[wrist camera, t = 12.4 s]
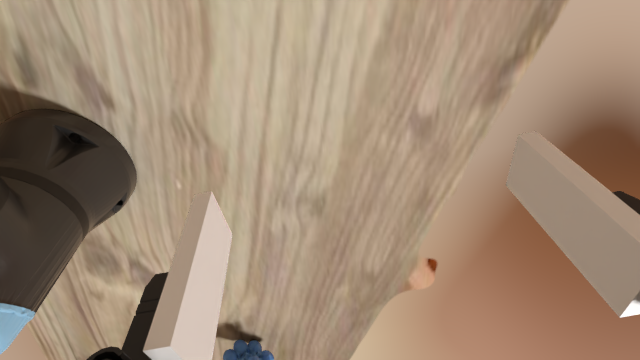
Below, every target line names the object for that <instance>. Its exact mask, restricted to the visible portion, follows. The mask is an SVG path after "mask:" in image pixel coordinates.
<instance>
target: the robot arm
mask: <svg viewBox="0 0 640 360" xmlns="http://www.w3.org/2000/svg"><path fill="white" fill-rule="evenodd" d="M136 179H137V178H136V170H135V167H134V164H133V161H132V159H131V158H130V156H129V154H128V153H127V151H126V150H125V149H124V147H123V146H122V145H121V144H120V143H119V142H118V141H117V140H116V139H115V138H114V137H113V136H112V135H110V134H109V133H108V132H106V131H105V130H104V129H102V128H101V127H99V126H97V125H96V124H94V123H92V122H90V121H88V120H86V119H84V118H81V117H79V116H76V115H73V114H70V113H67V112H62V111H57V110H50V109H34V110H28V111H24V112H21V113H18V114H16V115H14V116H12V117H11V118H9V119H8V120H6V121H5V122H3V123H2V124H0V354H1V353H2V352H3V351H5V350H6V349H7V348H8V347H9V346H10V344H11V343H12V342H13V340H14V339H15V338H16V336H17V335H18V334H19V332H20V331H21V330H22V329H23V327H24V326H25V325H26V323H27V322H28V321H30V320H31V319H33V317H34V315H35V313H36V311H37V310H38V308H39V307H40V305H41V304H42V302H43V301H44V299H45V298H46V296H47V295H48V293H49V291H50V290H51V288H52V287H53V285H54V284H55V282H56V281H57V279H58V278H59V276H60V275H61V273H62V271H63V270H64V268H65V267H66V265H67V264H68V262H69V261H70V259H71V258H72V256H73V255H74V253H75V251H76V250H77V248H78V247H79V245H80V244H81V242H82V241H83V239H84V238H85V236H86V235H87V233H88V232H90V231H91V230H93V229H94V228H96V227H97V226H98V225H100V224H101V223H103V222H104V221H105V220H107V219H108V218H110V217H111V216H113V215H114V214H115V213H117V212H118V211H119V210H120V209H122V207H123V206H124V205H125V204H126V203H127V201H128V199H129V198H130V196H131V195H132V193H133V191H134V189H135V186H136ZM506 186H507V187H508V188H509V190H510V191H511V192H512V193H513V194H514V195H515V197H516V198H517V199H518V200H519V201H520V202H521V203H522V205H523V206H524V207H525V208H526V209H527V210H528V211H529V213H530V214H531V215H532V216H533V217H534V218H535V220H536V221H537V222H538V223H539V224H540V226H541V227H542V228H543V229H544V230H545V231H546V232H547V234H548V235H549V236H550V237H551V238H552V239H553V241H554V242H555V243H556V244H557V245H558V246H559V248H560V249H561V250H562V251H563V252H564V253H565V255H566V256H567V257H568V258H569V259H570V260H571V262H572V263H573V264H574V265H575V266H576V267H577V268H578V270H579V271H580V272H581V273H582V274H583V276H584V277H585V278H586V279H587V280H588V281H589V282H590V284H591V285H592V286H593V287H594V288H595V289H596V290H597V292H598V293H599V294H600V295H601V296H602V297H603V299H604V300H605V301H606V302H607V303H608V304H609V306H610V307H611V308H612V309H613V310H614V311H615V313H616V314H617V315H618V316H619V317H626V316H632V315H638V314H640V200H639V199H637V198H635V197H632V196H630V195H628V194H625V193H624V192H621V191H617V192H611V191H609V190H608V189H607V188H605V187H604V186H603V185H602V184H601V183H599V182H598V181H597V180H596V179H594V178H593V177H592V176H591V175H590V174H588V173H587V172H586V171H585V170H583V169H582V168H581V167H580V166H578V165H577V164H576V163H575V162H574V161H572V160H571V159H570V158H569V157H567V156H566V155H565V154H564V153H562V152H561V151H560V150H559V149H557V148H556V147H555V146H554V145H553V144H551V143H550V142H549V141H548V140H546V139H545V138H544V137H543V136H541V135H540V134H539V133H538V132H536V131H535V132H530V133H525V134H519V135H518V137H517V141H516V145H515V149H514V153H513V158H512V161H511V165H510V170H509V174H508V178H507V182H506ZM231 240H232V232H231V230H230V228H229V226H228V224H227V222H226V220H225V218H224V216H223V214H222V211H221V209H220V207H219V205H218V203H217V201H216V199H215V197H214V195H213V193H212V191H210V192H204V193H199V194H194V197H193V200H192V203H191V206H190V209H189V212H188V215H187V218H186V221H185V224H184V227H183V230H182V233H181V236H180V239H179V243H178V246H177V249H176V252H175V255H174V258H173V261H172V264H171V267H170V270H169V272H166V273H161V274H155V276H154V277H153V278H152V279H151V281H150V282H149V283H148V285H147V286H146V287H145V289H144V292H143V295H142V297H141V300H140V304H139V305H138V308H137V310H136V316H134V318H133V321H132V324H131V326H130V329H129V331H128V334H127V337H126V339H125V342H124V345H123V347H122V350H120V349H119V348H117V347H108V348H104V349H101V350H99V351H98V352H96V353H94V354H93V355H91V356H90V357H89V358H88V359H87V360H212V356H213V350H214V344H215V338H216V332H217V326H218V320H219V314H220V307H221V301H222V295H223V289H224V283H225V277H226V271H227V265H228V259H229V253H230V246H231Z"/></svg>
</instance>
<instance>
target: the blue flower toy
mask: <svg viewBox="0 0 640 360" xmlns="http://www.w3.org/2000/svg"><path fill="white" fill-rule="evenodd" d="M223 360H274V357H273V355H272V353H271V352H269V351H267V350H265V351H262V347H261V344H260V343H259V342H258V341H256V340H252V341H250V342H249V343H248V345H247V343H246V342H245V341H243V340H237V341H235V343H234V350H232V349H229V350H226V351H225V353H224V355H223Z"/></svg>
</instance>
